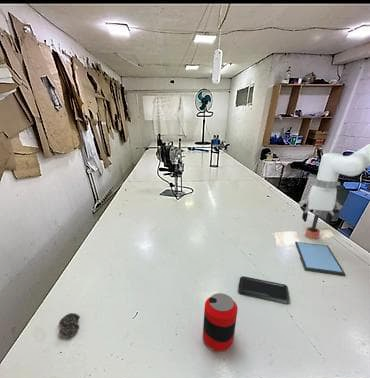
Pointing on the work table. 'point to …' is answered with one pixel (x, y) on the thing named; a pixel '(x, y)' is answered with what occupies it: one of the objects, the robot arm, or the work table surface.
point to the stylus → (315, 221)
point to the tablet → (318, 259)
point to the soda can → (219, 322)
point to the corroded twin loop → (69, 325)
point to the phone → (264, 289)
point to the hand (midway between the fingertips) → (315, 221)
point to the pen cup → (312, 233)
